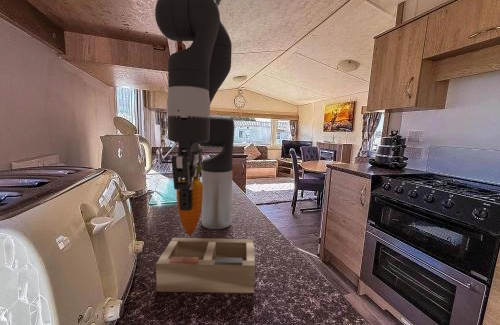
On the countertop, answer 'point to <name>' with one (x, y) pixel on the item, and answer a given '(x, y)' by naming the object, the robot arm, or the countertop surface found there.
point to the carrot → (192, 216)
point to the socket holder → (207, 266)
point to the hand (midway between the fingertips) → (189, 204)
